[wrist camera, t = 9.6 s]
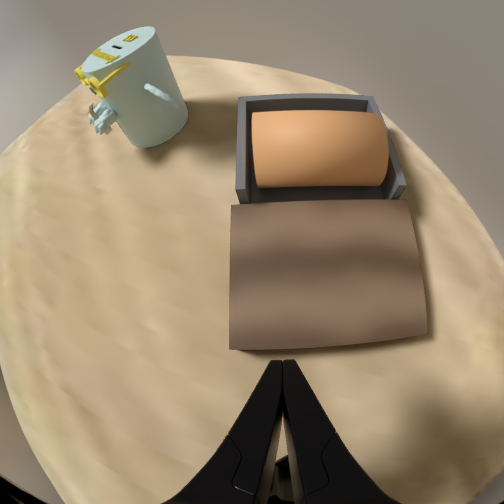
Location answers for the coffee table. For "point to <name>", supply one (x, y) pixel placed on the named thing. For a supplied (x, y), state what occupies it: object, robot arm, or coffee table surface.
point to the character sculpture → (134, 88)
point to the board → (323, 274)
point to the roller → (319, 148)
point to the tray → (253, 194)
